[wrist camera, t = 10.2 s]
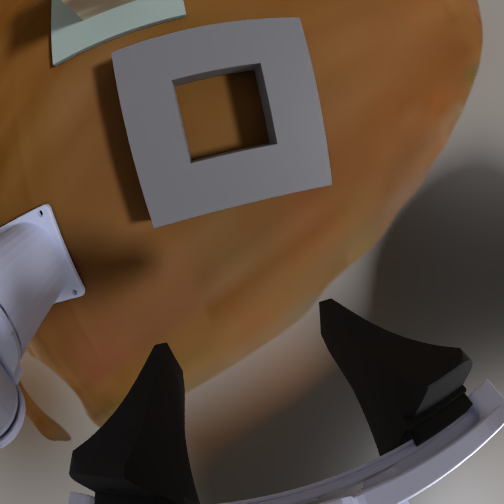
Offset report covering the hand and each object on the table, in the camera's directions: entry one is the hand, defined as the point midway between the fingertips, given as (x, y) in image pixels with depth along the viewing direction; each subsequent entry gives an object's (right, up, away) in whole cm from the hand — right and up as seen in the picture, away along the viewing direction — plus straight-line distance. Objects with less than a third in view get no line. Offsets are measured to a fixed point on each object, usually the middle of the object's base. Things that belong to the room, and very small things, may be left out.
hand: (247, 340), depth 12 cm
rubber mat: (-10, +23, -2) cm, 25 cm away
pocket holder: (-2, +13, +4) cm, 14 cm away
